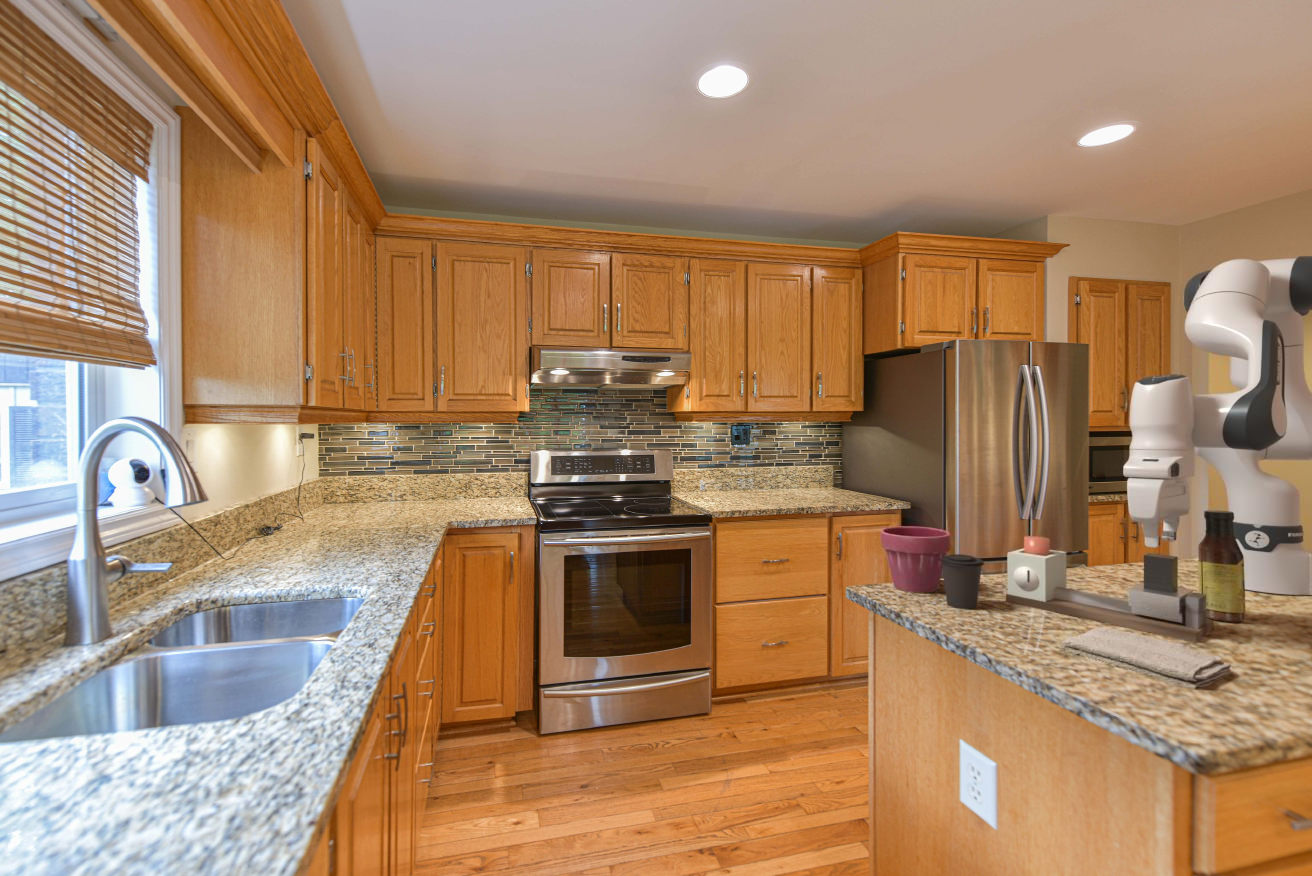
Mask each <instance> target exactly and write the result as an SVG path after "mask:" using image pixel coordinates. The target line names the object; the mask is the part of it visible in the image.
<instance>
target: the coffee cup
mask: <svg viewBox="0 0 1312 876" xmlns="http://www.w3.org/2000/svg"><path fill="white" fill-rule="evenodd" d="M939 560H940V561H941V562H942V567H943V569H942V573H943V582H944V591H945V598H946V605H947V606H949V607H951V608H955V609H960V610H975V609H976V608H977V607H978V600H979V591H980V582H981V576H982V575H981V574H982V567H983V566H985V563H984V561H983V560H982V559H980V558H977V557H975V556H972V555H968V554H958V553H957V554H956V553H955V554H948V555H945V556H943V557H941V559H939Z"/></svg>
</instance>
